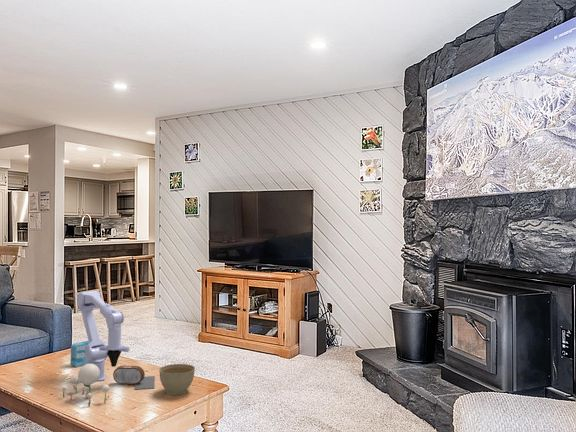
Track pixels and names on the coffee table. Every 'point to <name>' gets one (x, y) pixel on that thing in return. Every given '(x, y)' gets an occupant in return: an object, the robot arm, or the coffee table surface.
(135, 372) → the tin
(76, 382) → the figurines
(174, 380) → the planter bowl
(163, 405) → the coffee table surface
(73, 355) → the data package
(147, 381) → the mat
